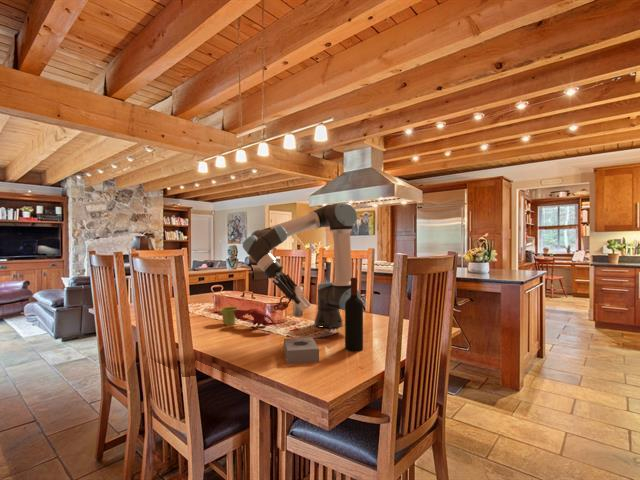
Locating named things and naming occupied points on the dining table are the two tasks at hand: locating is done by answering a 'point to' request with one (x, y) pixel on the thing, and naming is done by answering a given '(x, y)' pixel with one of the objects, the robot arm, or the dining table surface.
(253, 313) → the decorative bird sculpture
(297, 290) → the steel pin
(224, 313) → the plant pot
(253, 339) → the dining table surface
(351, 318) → the wine bottle
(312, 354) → the charcoal hole block
